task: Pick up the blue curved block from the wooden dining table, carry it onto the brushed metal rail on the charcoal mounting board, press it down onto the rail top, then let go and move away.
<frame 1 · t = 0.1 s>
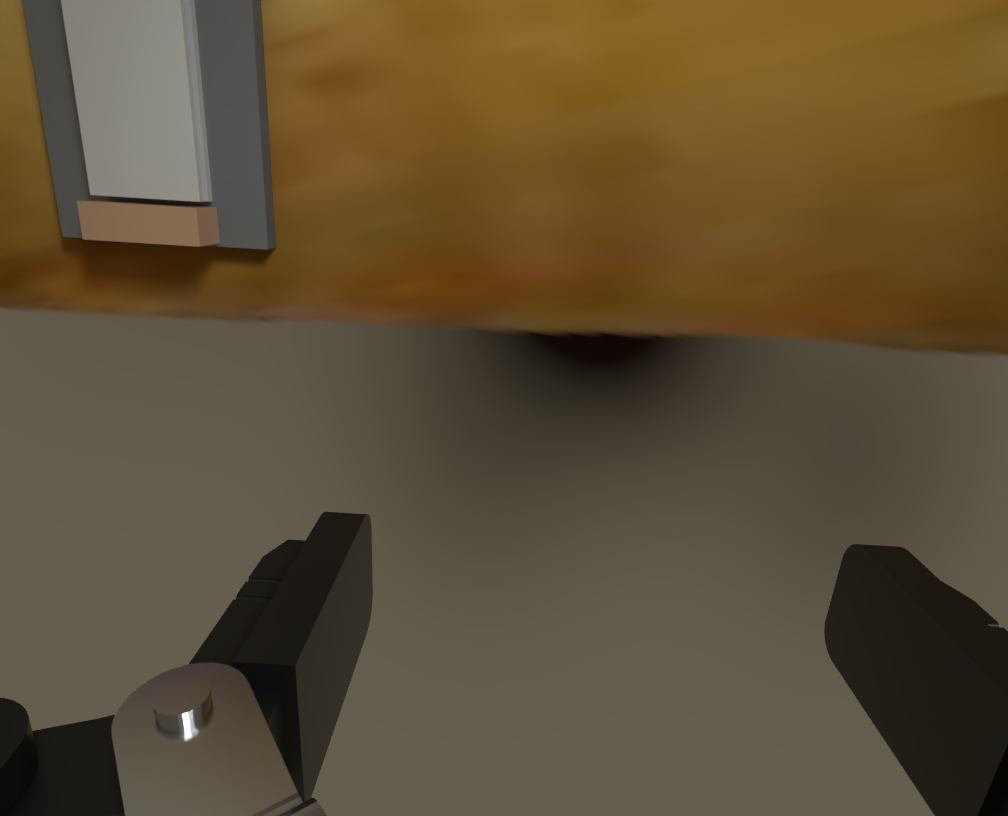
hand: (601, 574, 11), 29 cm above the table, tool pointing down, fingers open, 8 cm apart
rail board: (157, 73, 35), on the table
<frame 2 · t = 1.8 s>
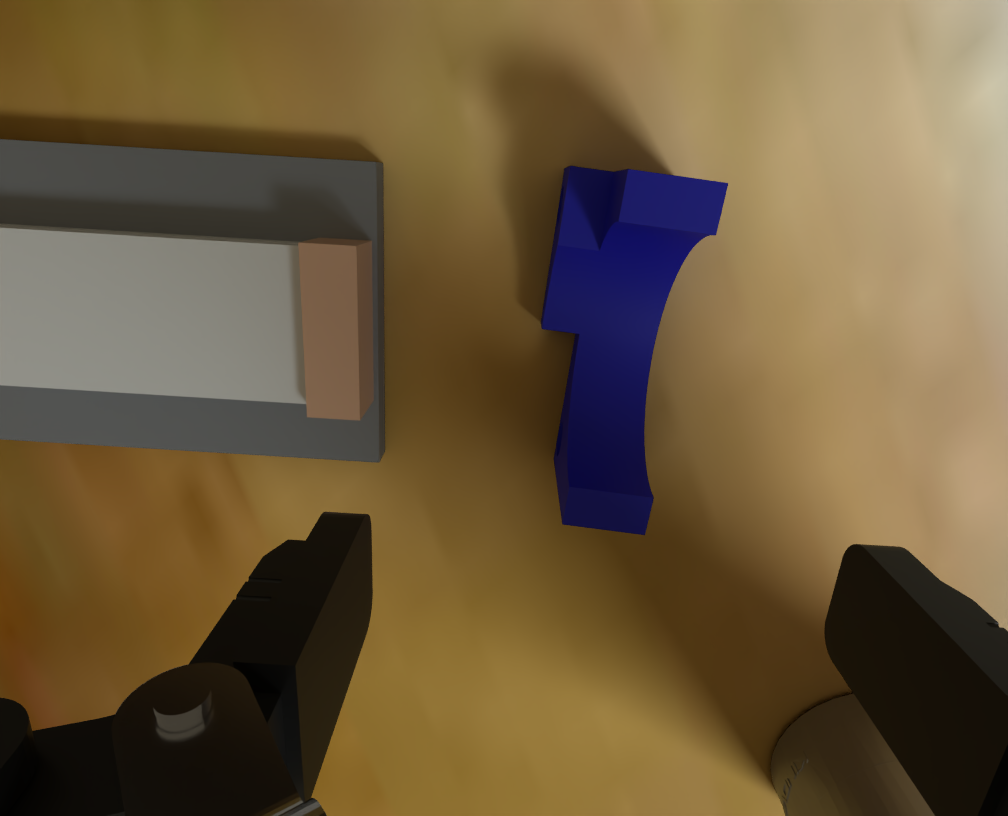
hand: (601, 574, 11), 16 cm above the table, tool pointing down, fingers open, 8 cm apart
rail board: (167, 305, 26), on the table
blue curved block: (593, 327, 26), on the table
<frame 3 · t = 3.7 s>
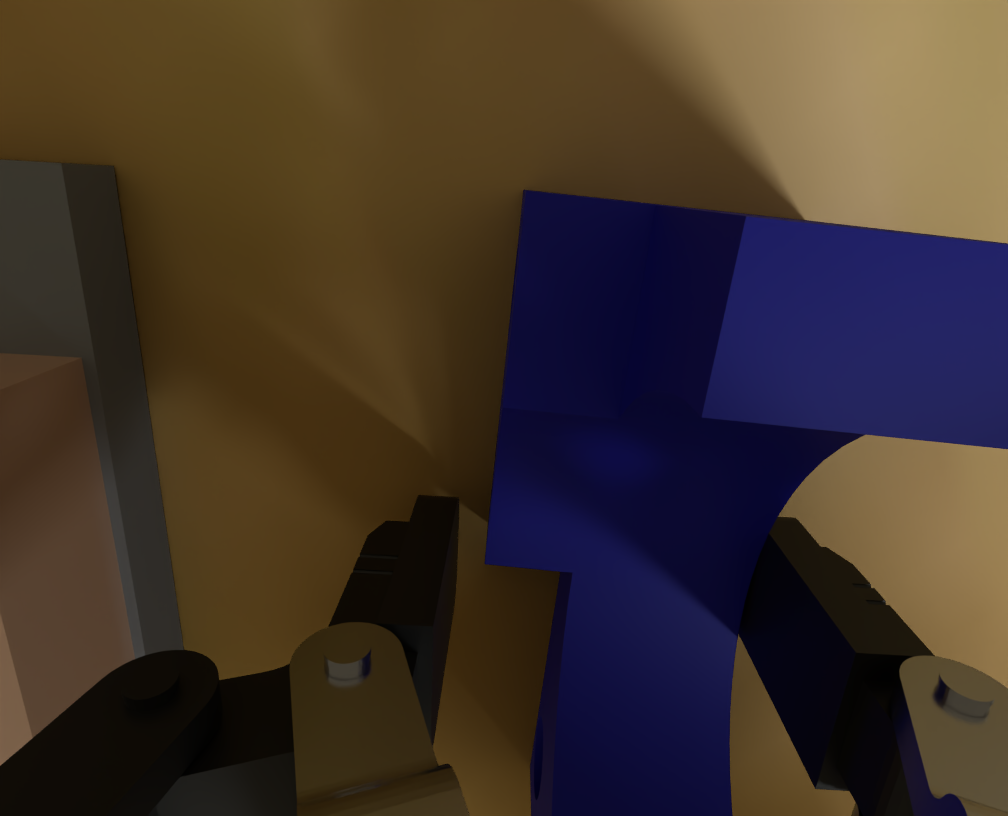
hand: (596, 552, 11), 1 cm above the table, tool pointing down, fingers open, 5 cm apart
blue curved block: (603, 525, 12), on the table, touching gripper
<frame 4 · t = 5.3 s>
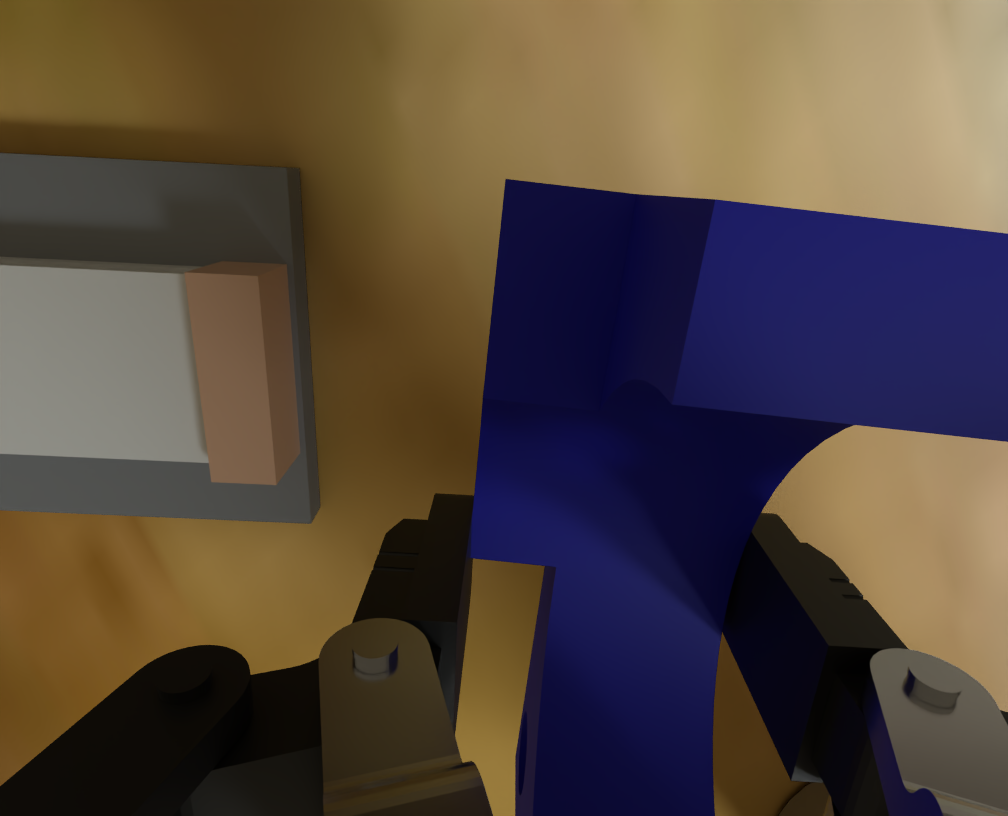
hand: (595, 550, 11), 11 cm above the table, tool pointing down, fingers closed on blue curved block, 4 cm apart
rail board: (47, 341, 21), on the table
blue curved block: (589, 520, 12), point 10 cm above the table, touching gripper
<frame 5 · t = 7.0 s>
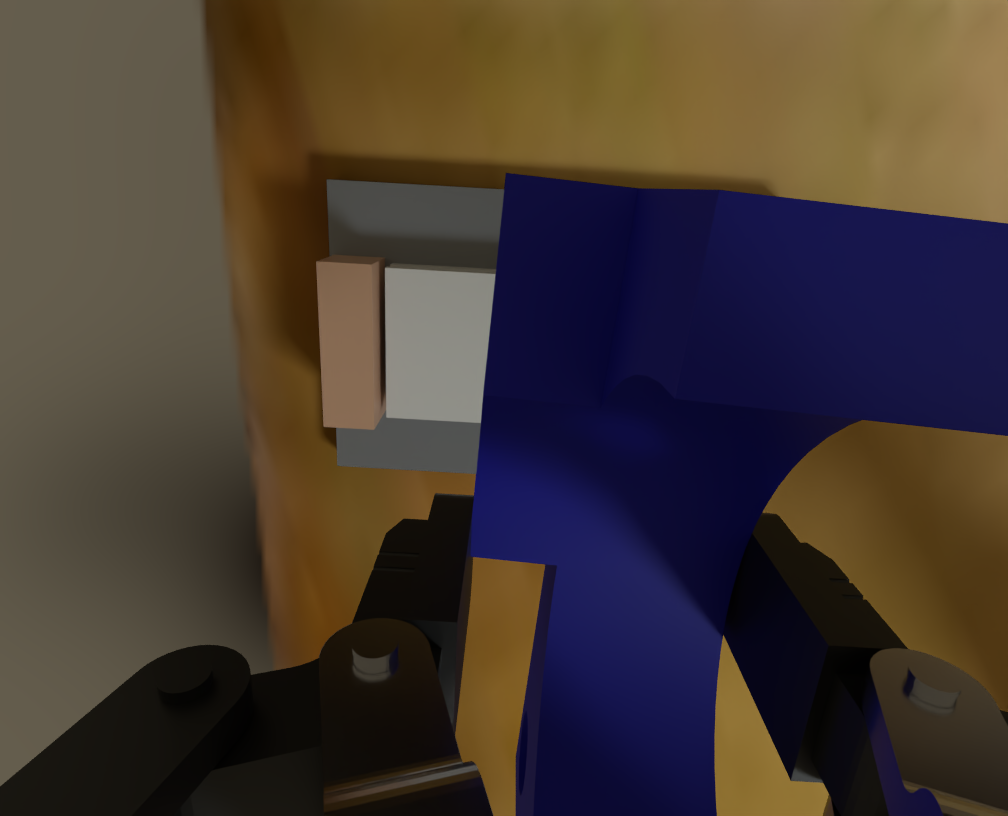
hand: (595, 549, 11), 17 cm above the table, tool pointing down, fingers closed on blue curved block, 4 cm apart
rail board: (548, 339, 27), on the table
blue curved block: (590, 519, 12), point 16 cm above the table, touching gripper
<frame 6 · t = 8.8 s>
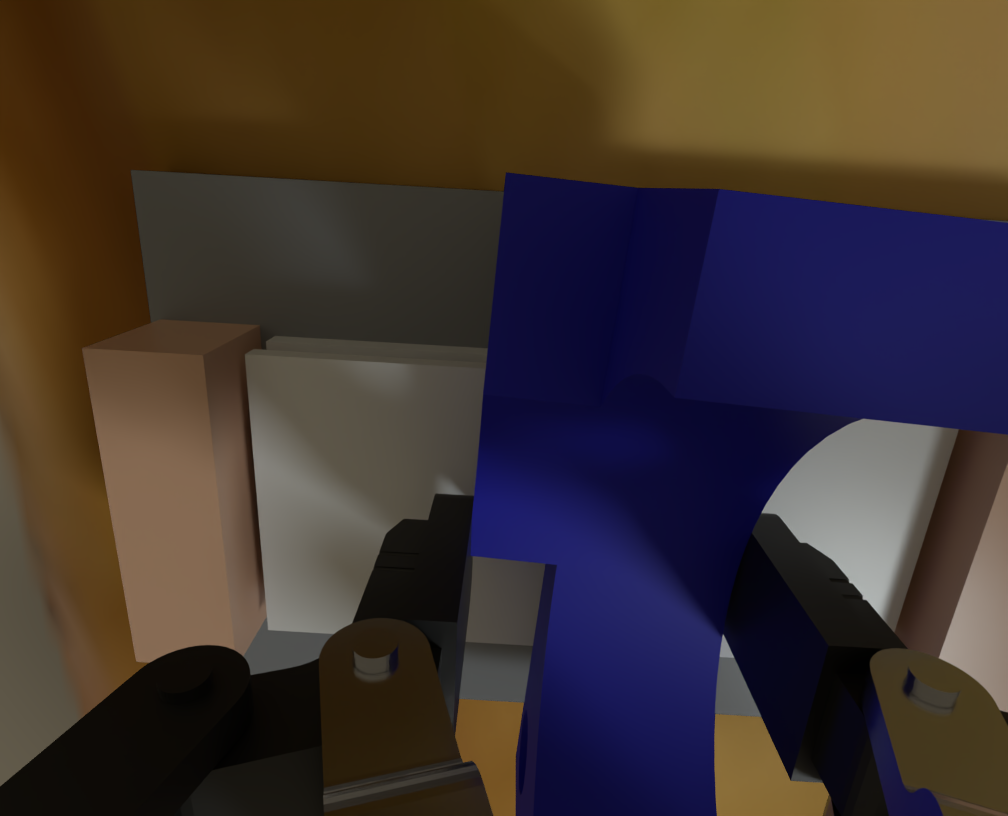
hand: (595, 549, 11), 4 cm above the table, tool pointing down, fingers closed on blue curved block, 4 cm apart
rail board: (577, 465, 15), on the table
blue curved block: (590, 518, 12), point 3 cm above the table, touching gripper
when the fingers open (3 cm above the table, at t = 10.1 s): blue curved block stays where it is, resting on rail board.
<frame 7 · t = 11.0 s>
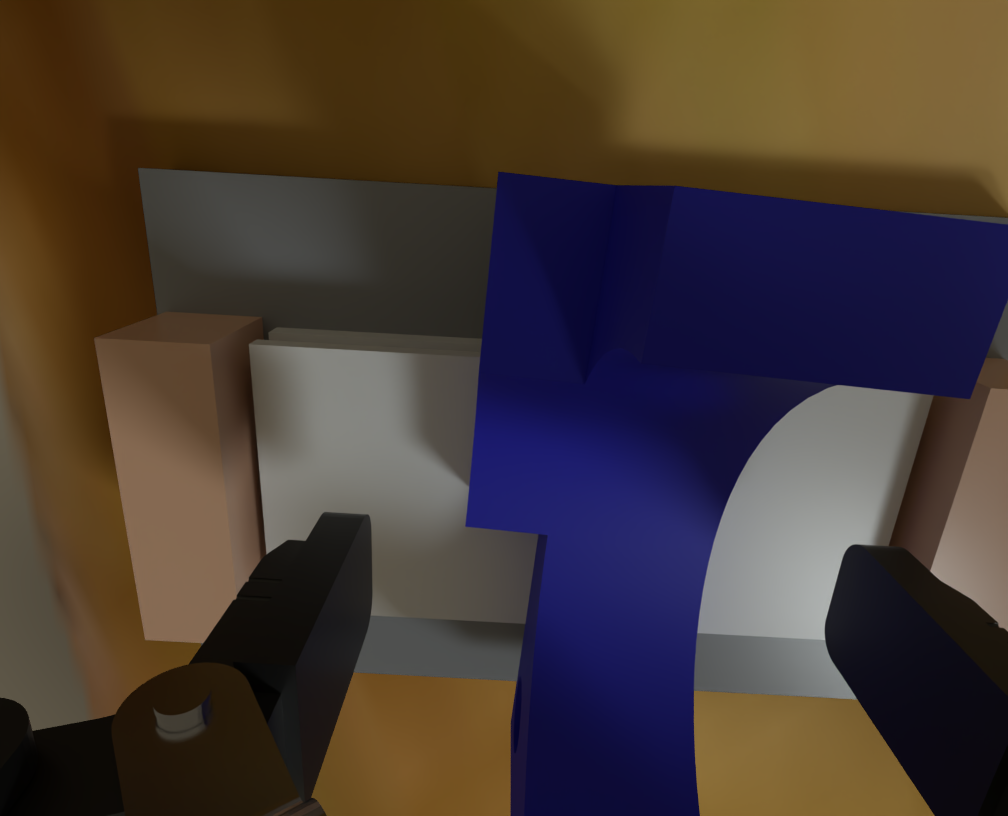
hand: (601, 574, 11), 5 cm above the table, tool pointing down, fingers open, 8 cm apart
rail board: (568, 452, 15), on the table
blue curved block: (579, 495, 13), point 2 cm above the table, touching rail board
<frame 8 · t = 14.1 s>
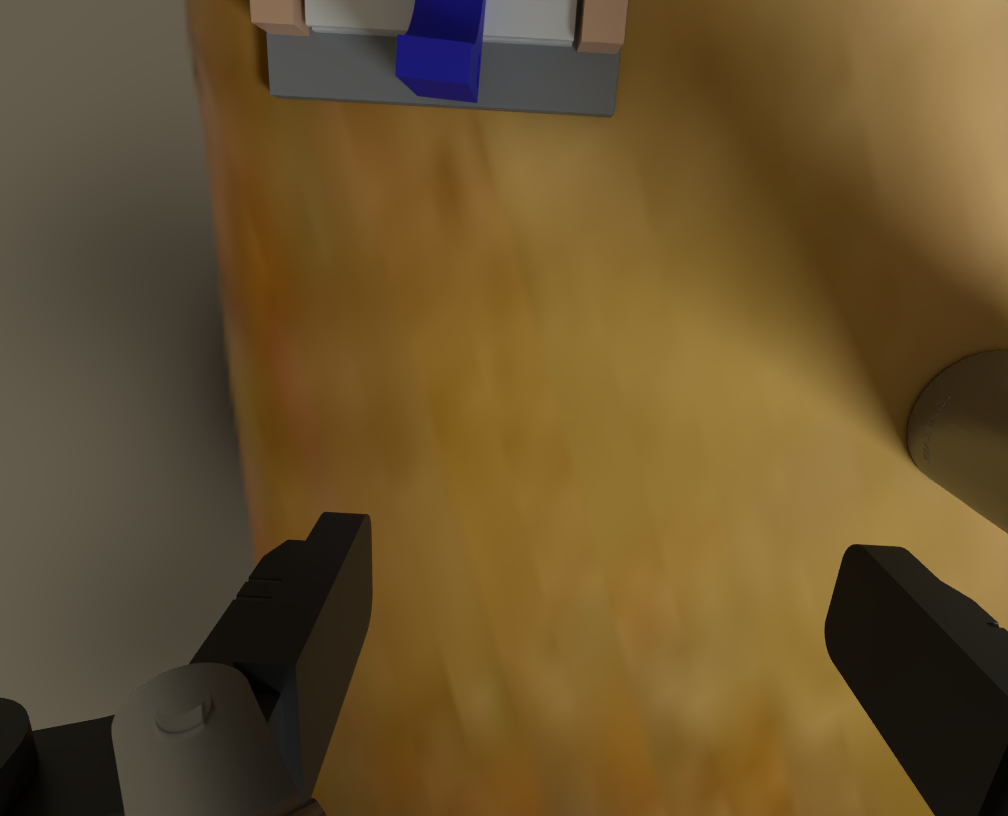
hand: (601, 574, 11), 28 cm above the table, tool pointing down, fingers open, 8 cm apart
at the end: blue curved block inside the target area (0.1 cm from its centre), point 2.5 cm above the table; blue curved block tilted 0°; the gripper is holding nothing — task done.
